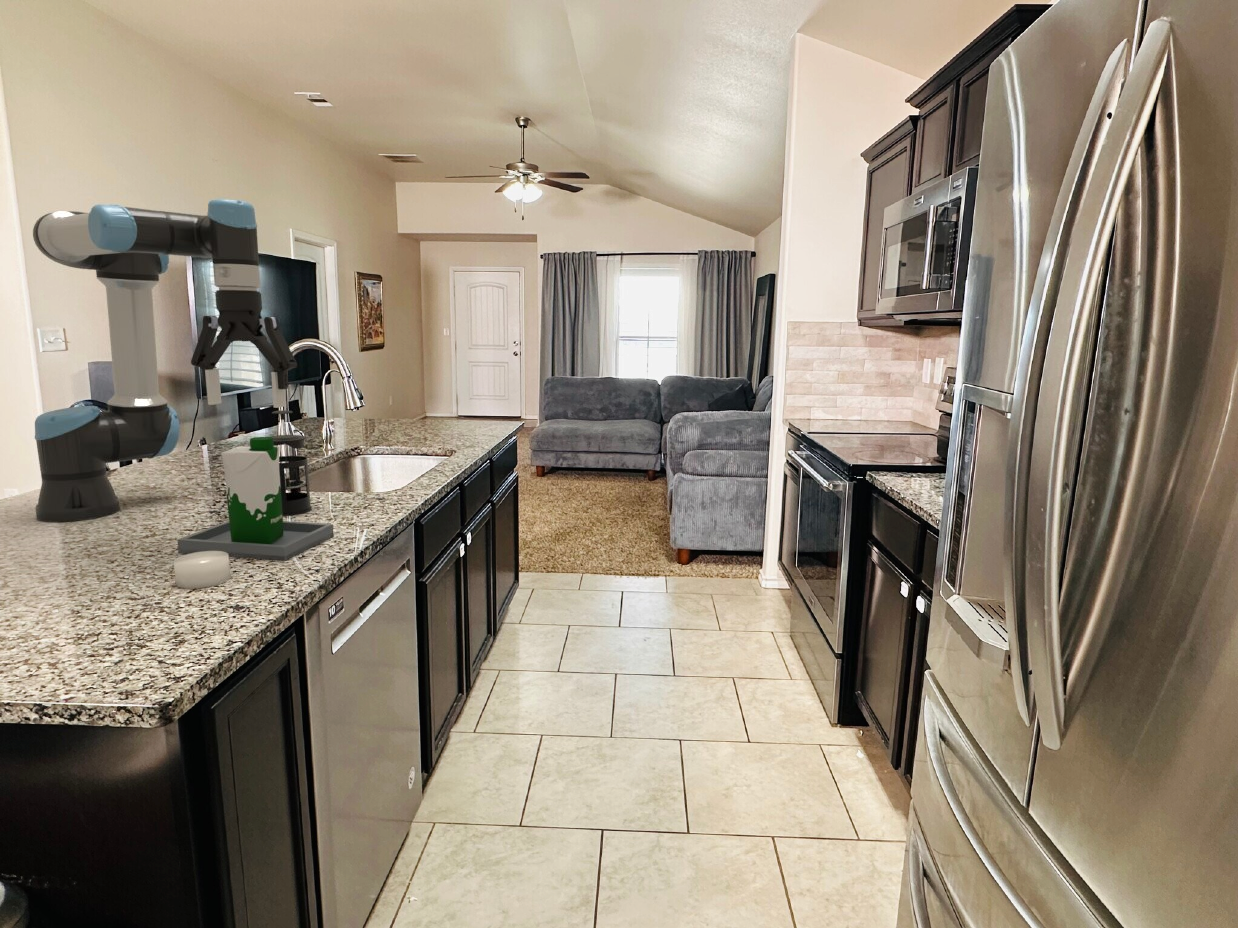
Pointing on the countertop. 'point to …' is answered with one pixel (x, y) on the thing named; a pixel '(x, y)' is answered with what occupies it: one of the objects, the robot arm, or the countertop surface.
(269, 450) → the soya milk
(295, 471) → the french press
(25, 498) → the countertop surface
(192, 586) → the cream glossy pebble
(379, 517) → the countertop surface
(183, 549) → the tray
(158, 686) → the countertop surface
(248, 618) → the countertop surface
